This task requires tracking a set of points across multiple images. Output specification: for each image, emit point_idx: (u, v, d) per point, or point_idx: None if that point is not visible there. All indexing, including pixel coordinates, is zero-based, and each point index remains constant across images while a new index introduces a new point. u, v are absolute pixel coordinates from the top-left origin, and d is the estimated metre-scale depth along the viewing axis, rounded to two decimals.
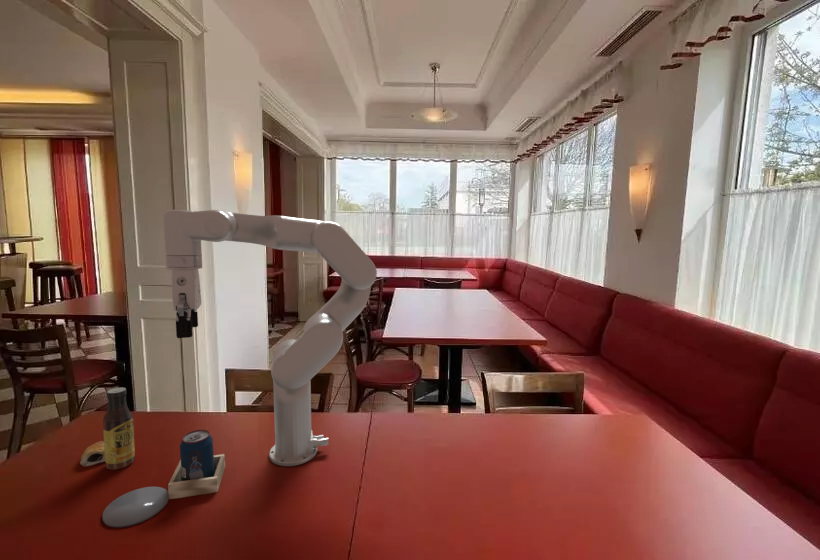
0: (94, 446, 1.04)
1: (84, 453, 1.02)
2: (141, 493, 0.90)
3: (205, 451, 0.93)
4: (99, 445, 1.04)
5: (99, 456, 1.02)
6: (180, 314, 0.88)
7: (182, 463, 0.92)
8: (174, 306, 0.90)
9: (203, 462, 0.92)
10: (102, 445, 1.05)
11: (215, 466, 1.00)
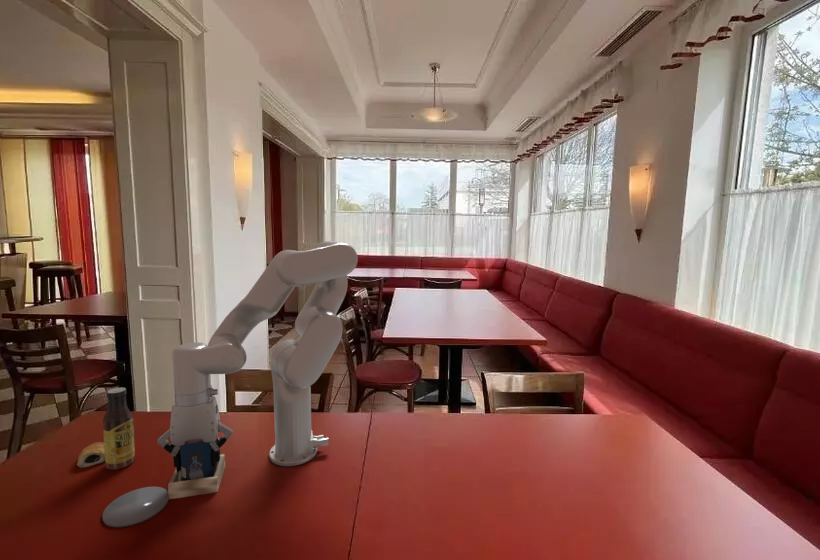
0: (91, 447, 1.03)
1: (81, 454, 1.01)
2: (141, 493, 0.90)
3: (205, 451, 0.93)
4: (96, 446, 1.04)
5: (96, 457, 1.02)
6: (226, 439, 0.96)
7: (182, 463, 0.92)
8: (216, 435, 0.93)
9: (203, 462, 0.92)
10: (99, 446, 1.04)
11: None
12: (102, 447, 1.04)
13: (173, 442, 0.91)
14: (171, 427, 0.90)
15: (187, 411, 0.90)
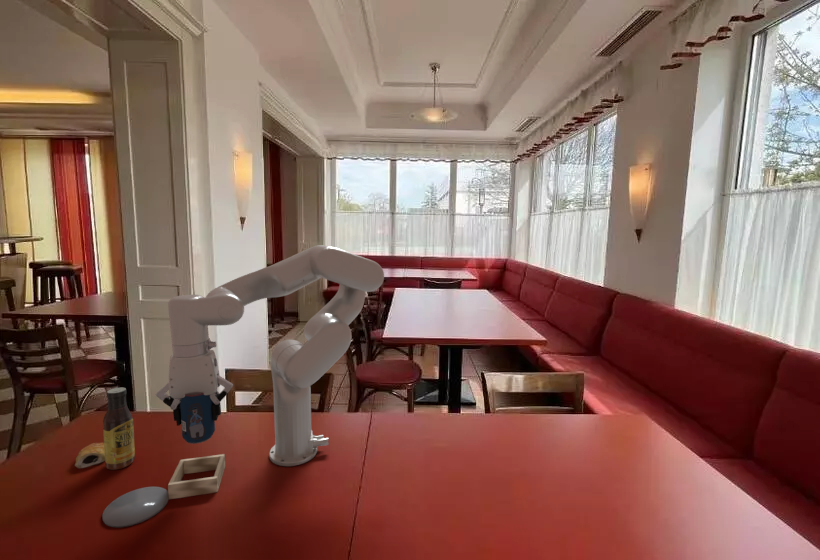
0: (89, 448, 1.03)
1: (79, 455, 1.01)
2: (141, 493, 0.90)
3: (205, 405, 0.91)
4: (94, 447, 1.04)
5: (94, 457, 1.02)
6: None
7: (182, 416, 0.91)
8: (216, 388, 0.92)
9: (203, 415, 0.91)
10: (97, 447, 1.04)
11: (215, 466, 1.00)
12: (100, 448, 1.04)
13: (172, 395, 0.90)
14: (170, 379, 0.89)
15: (186, 363, 0.89)
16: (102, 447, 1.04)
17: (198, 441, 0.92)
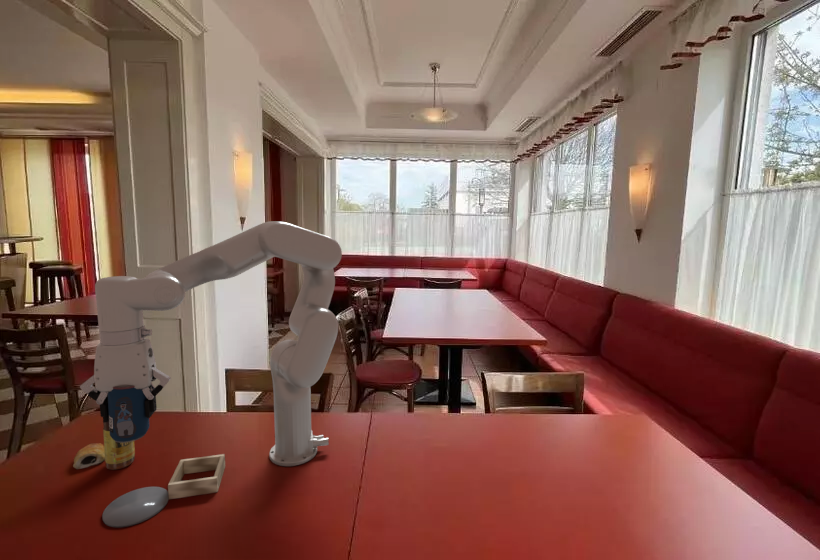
0: (87, 448, 1.03)
1: (77, 456, 1.01)
2: (141, 493, 0.90)
3: (136, 399, 0.82)
4: (92, 447, 1.03)
5: (93, 458, 1.01)
6: (163, 387, 0.85)
7: (109, 412, 0.81)
8: (149, 381, 0.83)
9: (133, 411, 0.81)
10: (95, 447, 1.04)
11: (215, 466, 1.00)
12: (98, 448, 1.04)
13: (98, 387, 0.80)
14: (95, 370, 0.79)
15: (114, 352, 0.79)
16: (100, 448, 1.04)
17: (127, 440, 0.82)
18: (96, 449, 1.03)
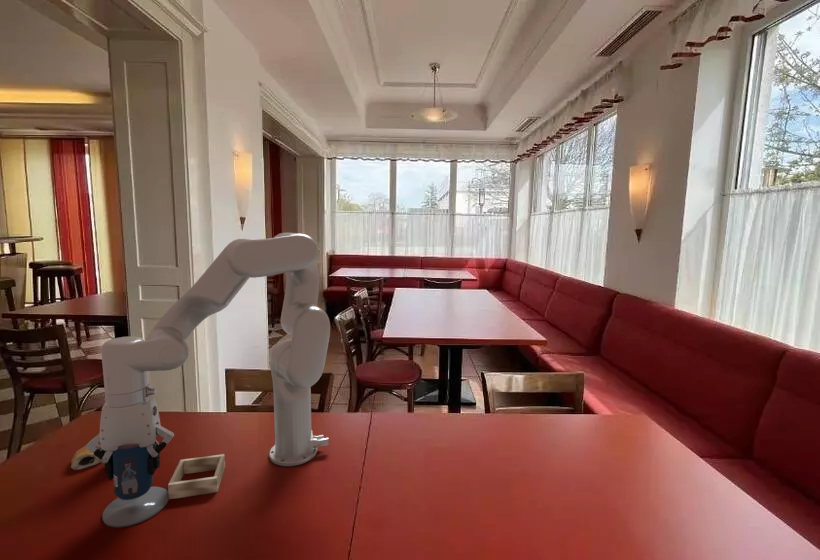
0: (84, 449, 1.02)
1: (74, 457, 1.00)
2: None
3: (141, 458, 0.83)
4: None
5: (90, 459, 1.01)
6: (166, 444, 0.87)
7: (114, 470, 0.83)
8: (153, 440, 0.84)
9: (137, 469, 0.83)
10: None
11: (215, 466, 1.00)
12: None
13: (103, 447, 0.82)
14: (101, 430, 0.81)
15: (119, 412, 0.81)
16: None
17: (131, 497, 0.83)
18: None
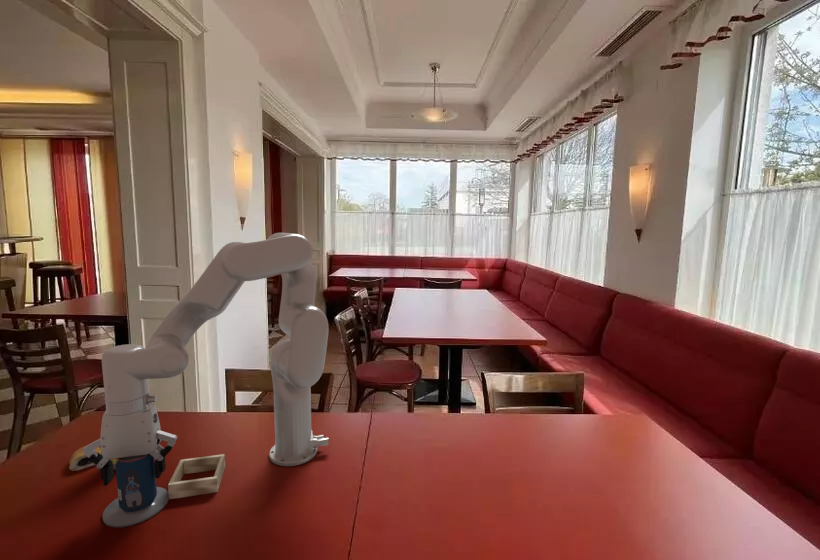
0: (82, 450, 1.02)
1: (73, 458, 1.00)
2: None
3: (143, 470, 0.84)
4: None
5: None
6: None
7: (118, 484, 0.83)
8: (154, 447, 0.84)
9: (141, 482, 0.84)
10: None
11: (215, 466, 1.00)
12: None
13: (104, 455, 0.82)
14: (101, 438, 0.81)
15: (120, 420, 0.81)
16: (96, 449, 1.04)
17: (135, 510, 0.84)
18: None
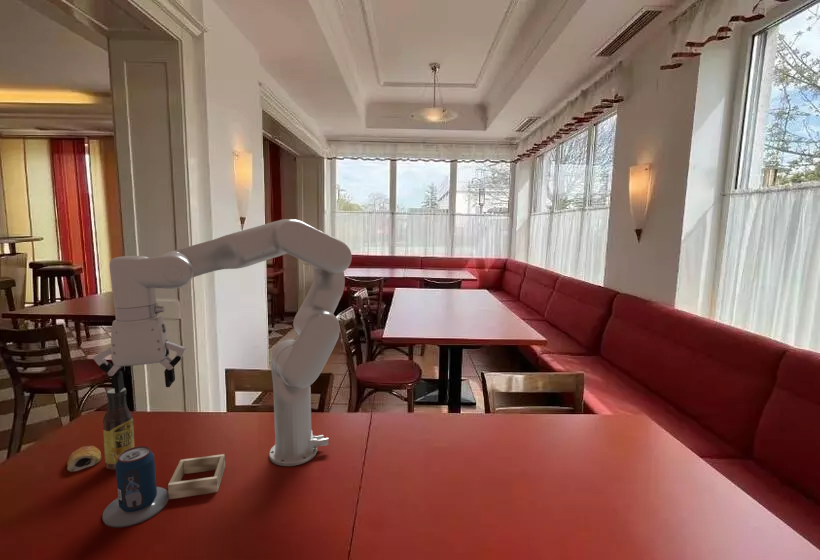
0: (80, 451, 1.02)
1: (71, 458, 0.99)
2: None
3: (143, 470, 0.84)
4: (85, 450, 1.02)
5: (87, 460, 1.00)
6: None
7: (118, 484, 0.83)
8: (163, 356, 0.87)
9: (141, 482, 0.84)
10: (89, 449, 1.03)
11: (215, 466, 1.00)
12: (92, 450, 1.03)
13: (115, 362, 0.84)
14: (112, 345, 0.83)
15: (129, 327, 0.83)
16: (94, 450, 1.03)
17: (135, 510, 0.84)
18: (90, 451, 1.02)
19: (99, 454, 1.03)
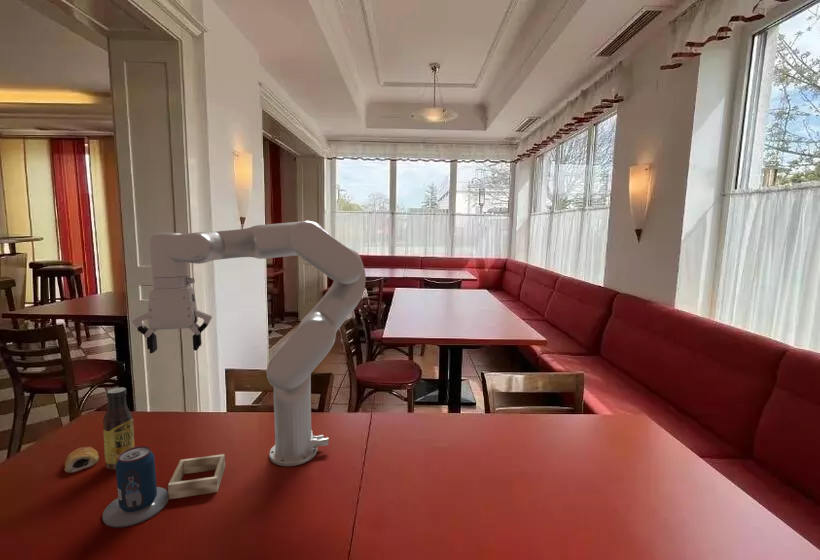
0: (77, 452, 1.01)
1: (68, 460, 0.99)
2: None
3: (143, 470, 0.84)
4: (83, 451, 1.02)
5: (85, 461, 1.00)
6: (207, 325, 1.00)
7: (118, 484, 0.83)
8: (192, 322, 0.98)
9: (141, 482, 0.84)
10: (86, 450, 1.02)
11: (215, 466, 1.00)
12: (89, 451, 1.02)
13: (151, 325, 0.95)
14: (149, 310, 0.95)
15: (164, 295, 0.95)
16: (91, 450, 1.03)
17: (135, 510, 0.84)
18: (87, 452, 1.02)
19: (97, 455, 1.03)
